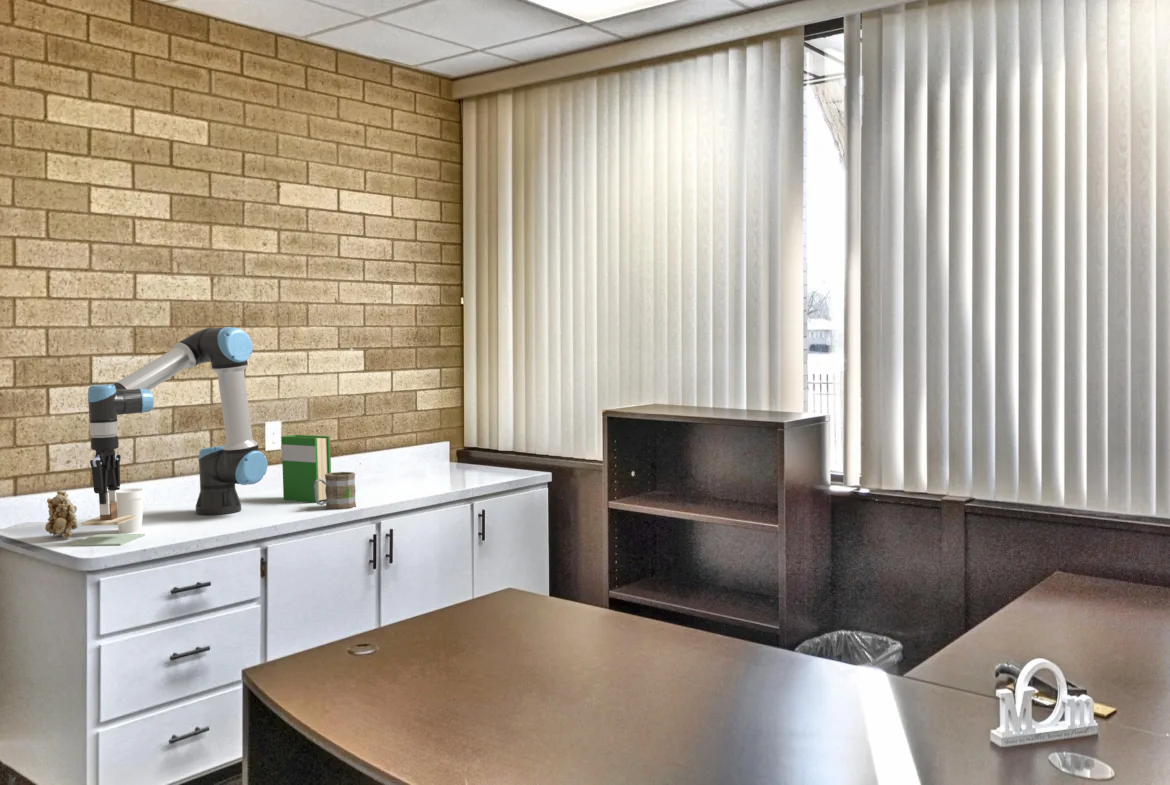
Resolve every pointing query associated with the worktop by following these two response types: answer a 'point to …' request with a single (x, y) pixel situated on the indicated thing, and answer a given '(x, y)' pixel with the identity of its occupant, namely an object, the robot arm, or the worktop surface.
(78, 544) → the mat
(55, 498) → the mineral formation
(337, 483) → the mug
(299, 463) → the hardback book
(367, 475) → the worktop surface
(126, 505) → the foam cup
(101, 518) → the lid
